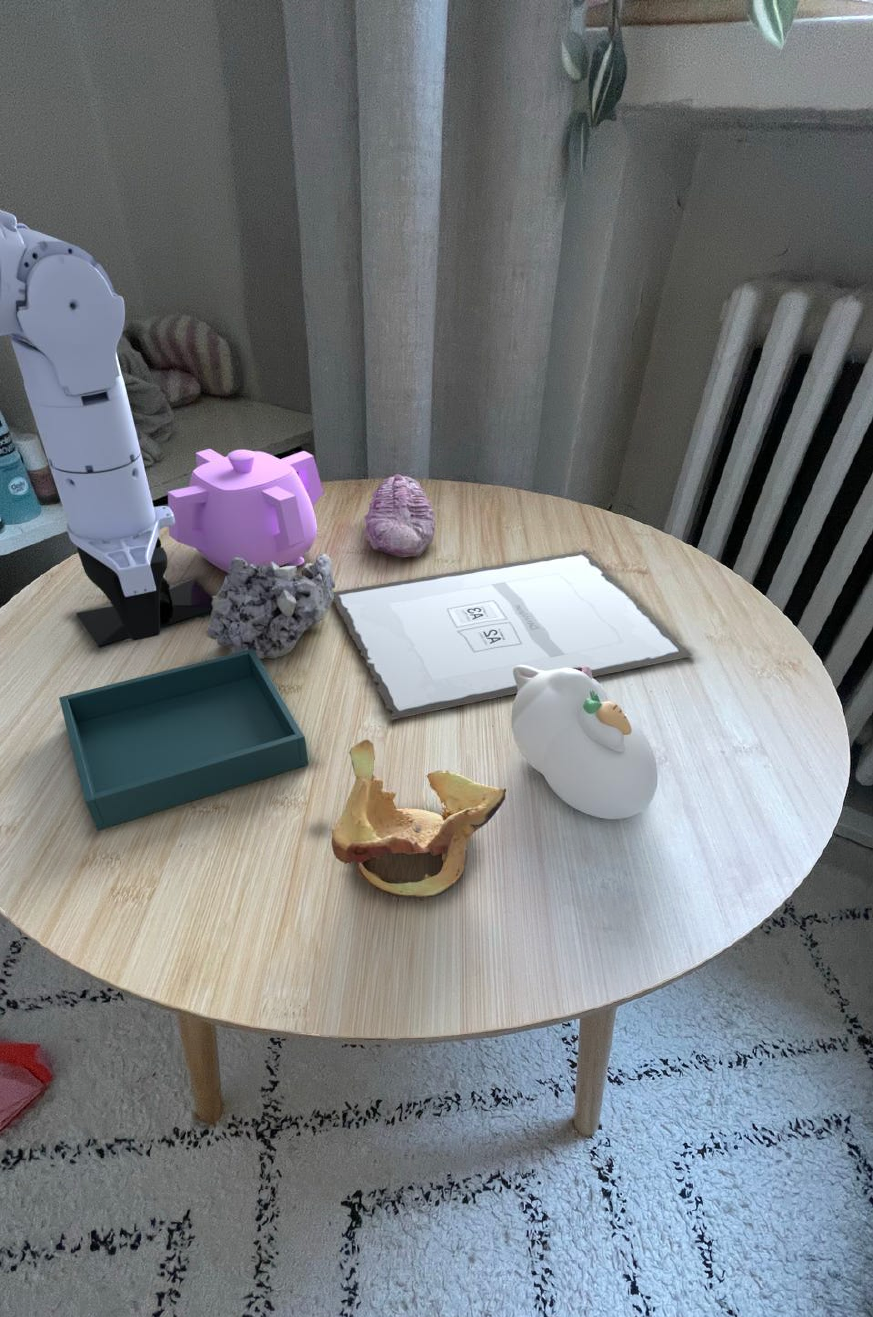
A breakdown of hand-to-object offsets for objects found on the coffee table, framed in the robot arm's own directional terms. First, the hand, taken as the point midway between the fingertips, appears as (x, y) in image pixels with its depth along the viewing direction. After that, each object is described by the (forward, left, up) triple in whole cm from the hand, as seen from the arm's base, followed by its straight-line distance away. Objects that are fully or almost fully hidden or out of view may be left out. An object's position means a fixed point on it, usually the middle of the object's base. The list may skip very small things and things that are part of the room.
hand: (144, 633), depth 59 cm
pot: (+15, +23, -9) cm, 29 cm away
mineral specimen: (+12, +7, -9) cm, 16 cm away
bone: (+12, -23, -9) cm, 27 cm away
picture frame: (+33, 0, -8) cm, 34 cm away
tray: (+1, -4, -8) cm, 9 cm away
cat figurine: (+27, -21, -8) cm, 35 cm away
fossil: (+32, +22, -9) cm, 40 cm away
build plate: (+2, +17, -9) cm, 19 cm away
